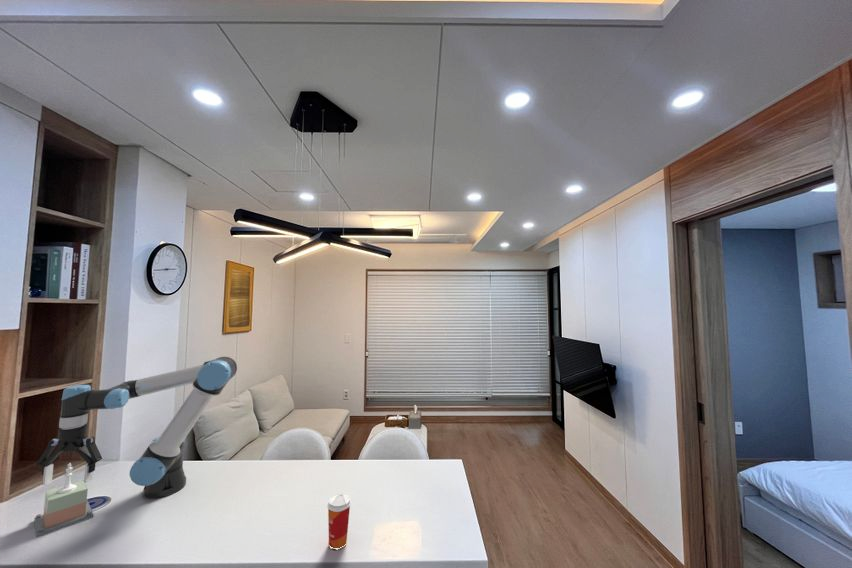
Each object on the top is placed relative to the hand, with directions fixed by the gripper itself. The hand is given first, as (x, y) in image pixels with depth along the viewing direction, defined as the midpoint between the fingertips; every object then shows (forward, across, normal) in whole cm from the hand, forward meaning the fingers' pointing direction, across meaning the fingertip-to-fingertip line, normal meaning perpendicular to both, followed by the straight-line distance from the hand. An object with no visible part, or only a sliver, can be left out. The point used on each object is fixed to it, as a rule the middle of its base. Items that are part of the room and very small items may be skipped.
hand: (67, 482), depth 124 cm
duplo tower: (+14, 0, 0) cm, 14 cm away
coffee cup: (+14, -106, +28) cm, 110 cm away
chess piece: (+3, 0, 0) cm, 3 cm away
